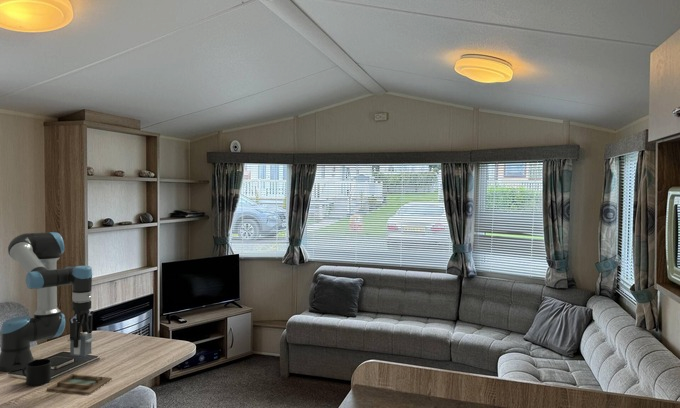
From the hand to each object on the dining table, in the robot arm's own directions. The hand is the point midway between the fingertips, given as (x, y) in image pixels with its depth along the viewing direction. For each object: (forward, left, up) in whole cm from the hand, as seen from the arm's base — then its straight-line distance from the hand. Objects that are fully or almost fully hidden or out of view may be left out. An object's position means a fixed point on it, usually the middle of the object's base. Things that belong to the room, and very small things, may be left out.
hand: (80, 352), depth 213 cm
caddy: (0, 0, -15) cm, 15 cm away
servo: (0, 0, -1) cm, 1 cm away
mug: (-21, -1, -15) cm, 26 cm away
